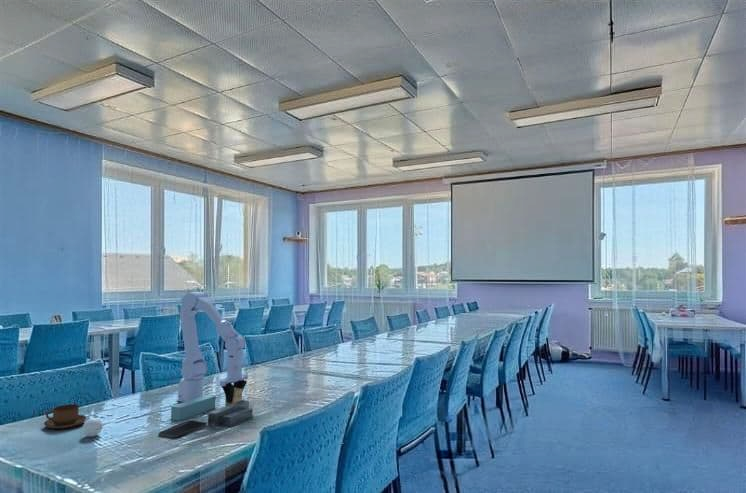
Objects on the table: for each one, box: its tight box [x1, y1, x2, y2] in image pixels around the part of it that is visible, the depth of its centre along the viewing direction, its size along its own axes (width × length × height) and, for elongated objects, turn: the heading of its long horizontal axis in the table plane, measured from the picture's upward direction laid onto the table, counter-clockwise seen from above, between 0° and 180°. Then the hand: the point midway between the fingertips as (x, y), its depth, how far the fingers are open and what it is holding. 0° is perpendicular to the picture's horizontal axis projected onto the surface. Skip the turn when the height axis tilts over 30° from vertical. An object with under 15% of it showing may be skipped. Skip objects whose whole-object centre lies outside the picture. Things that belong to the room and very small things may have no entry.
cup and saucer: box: [43, 404, 87, 430], centre depth 163 cm, size 12×12×6 cm
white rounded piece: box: [81, 417, 103, 438], centre depth 153 cm, size 8×6×6 cm
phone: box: [158, 420, 208, 440], centre depth 159 cm, size 8×1×15 cm
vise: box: [207, 399, 254, 428], centre depth 171 cm, size 7×18×4 cm, turn 156°
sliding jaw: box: [170, 394, 217, 422], centre depth 179 cm, size 4×18×4 cm, turn 156°
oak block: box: [224, 388, 243, 406], centre depth 191 cm, size 4×4×6 cm
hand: (233, 400), depth 191 cm, fingers closed on oak block, 4 cm apart
